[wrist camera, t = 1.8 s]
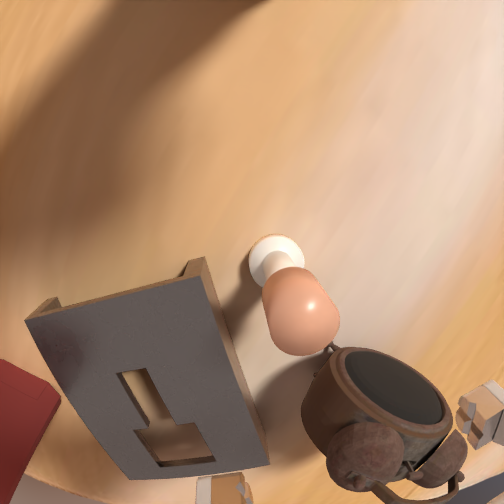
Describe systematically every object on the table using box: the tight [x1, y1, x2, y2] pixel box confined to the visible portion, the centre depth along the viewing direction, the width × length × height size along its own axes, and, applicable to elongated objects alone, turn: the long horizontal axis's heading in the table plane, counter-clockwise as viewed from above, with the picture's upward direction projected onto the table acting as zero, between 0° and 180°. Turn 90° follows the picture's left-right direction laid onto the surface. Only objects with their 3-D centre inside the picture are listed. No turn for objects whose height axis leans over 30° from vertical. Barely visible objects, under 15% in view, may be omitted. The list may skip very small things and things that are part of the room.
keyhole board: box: [24, 257, 270, 480], centre depth 30 cm, size 18×24×5 cm
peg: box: [248, 234, 340, 356], centre depth 24 cm, size 5×5×12 cm
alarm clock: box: [301, 341, 468, 504], centre depth 24 cm, size 14×7×20 cm, turn 68°
